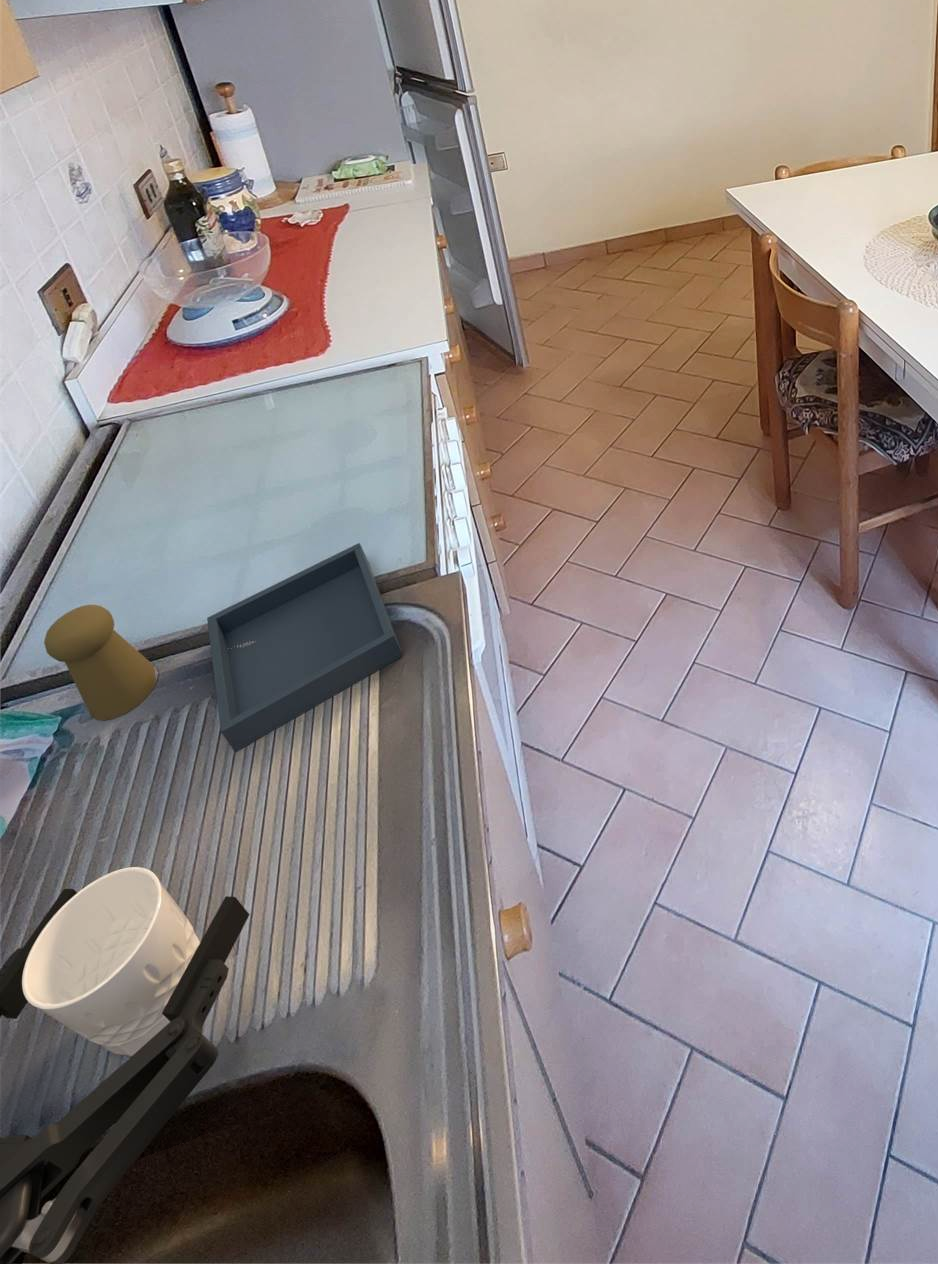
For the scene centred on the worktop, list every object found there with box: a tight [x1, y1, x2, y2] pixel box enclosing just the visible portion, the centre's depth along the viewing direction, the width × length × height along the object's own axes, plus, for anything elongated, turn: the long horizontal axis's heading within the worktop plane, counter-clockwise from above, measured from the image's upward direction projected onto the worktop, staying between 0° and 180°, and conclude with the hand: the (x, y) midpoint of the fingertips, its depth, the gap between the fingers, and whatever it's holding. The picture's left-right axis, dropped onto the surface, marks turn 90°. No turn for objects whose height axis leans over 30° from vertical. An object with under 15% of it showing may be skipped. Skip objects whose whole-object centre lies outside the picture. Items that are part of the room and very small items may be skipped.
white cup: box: [22, 866, 201, 1057], centre depth 57 cm, size 8×8×10 cm
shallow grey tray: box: [206, 542, 404, 753], centre depth 83 cm, size 16×16×3 cm
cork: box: [43, 604, 158, 721], centre depth 79 cm, size 6×6×11 cm
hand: (157, 900), depth 59 cm, fingers open, 12 cm apart
